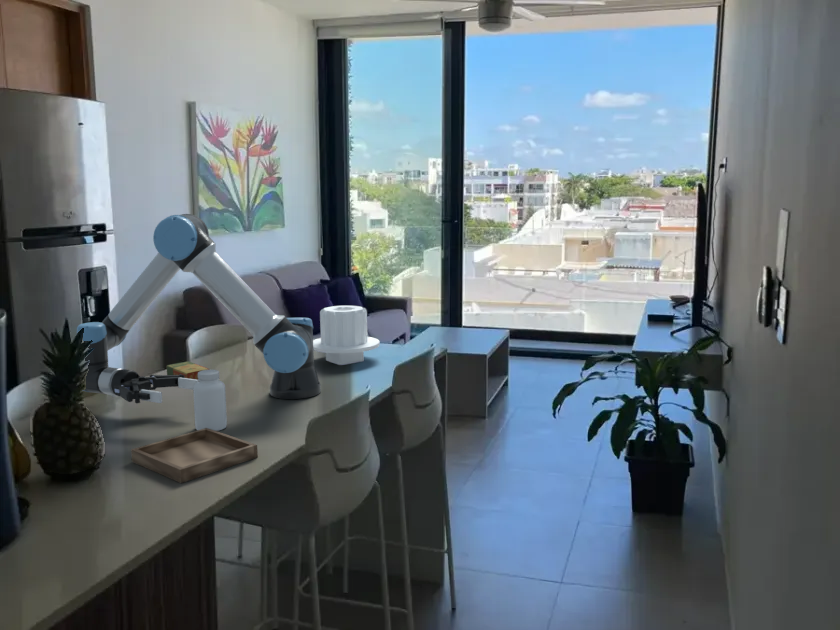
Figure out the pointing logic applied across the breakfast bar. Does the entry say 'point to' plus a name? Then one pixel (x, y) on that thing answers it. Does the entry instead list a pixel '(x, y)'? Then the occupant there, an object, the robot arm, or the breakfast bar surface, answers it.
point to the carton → (185, 369)
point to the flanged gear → (344, 334)
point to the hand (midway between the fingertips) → (180, 391)
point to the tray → (194, 454)
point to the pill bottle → (209, 401)
